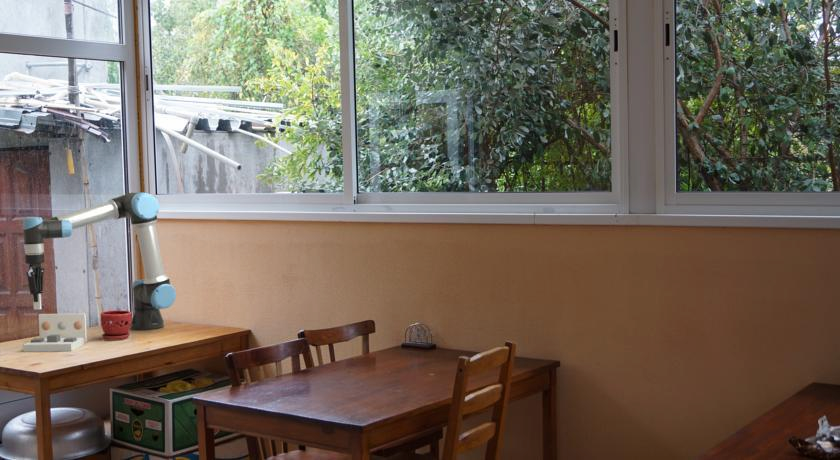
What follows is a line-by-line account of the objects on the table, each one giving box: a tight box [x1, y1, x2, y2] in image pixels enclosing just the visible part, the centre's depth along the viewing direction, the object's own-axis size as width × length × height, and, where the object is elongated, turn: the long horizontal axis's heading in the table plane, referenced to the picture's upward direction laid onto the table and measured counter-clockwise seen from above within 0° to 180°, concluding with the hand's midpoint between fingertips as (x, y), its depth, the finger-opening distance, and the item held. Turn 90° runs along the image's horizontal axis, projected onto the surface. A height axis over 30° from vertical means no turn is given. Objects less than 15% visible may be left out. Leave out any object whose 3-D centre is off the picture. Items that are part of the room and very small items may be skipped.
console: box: [22, 338, 85, 353], centre depth 395 cm, size 20×14×3 cm
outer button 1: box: [64, 337, 77, 342], centre depth 395 cm, size 4×4×3 cm
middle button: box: [47, 334, 60, 342], centre depth 395 cm, size 4×4×3 cm
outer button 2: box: [30, 337, 44, 343], centre depth 395 cm, size 4×4×3 cm
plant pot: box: [100, 309, 133, 341], centre depth 415 cm, size 13×13×12 cm
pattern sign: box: [38, 312, 88, 342], centre depth 405 cm, size 20×5×13 cm, turn 89°
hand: (37, 309), depth 396 cm, fingers closed
